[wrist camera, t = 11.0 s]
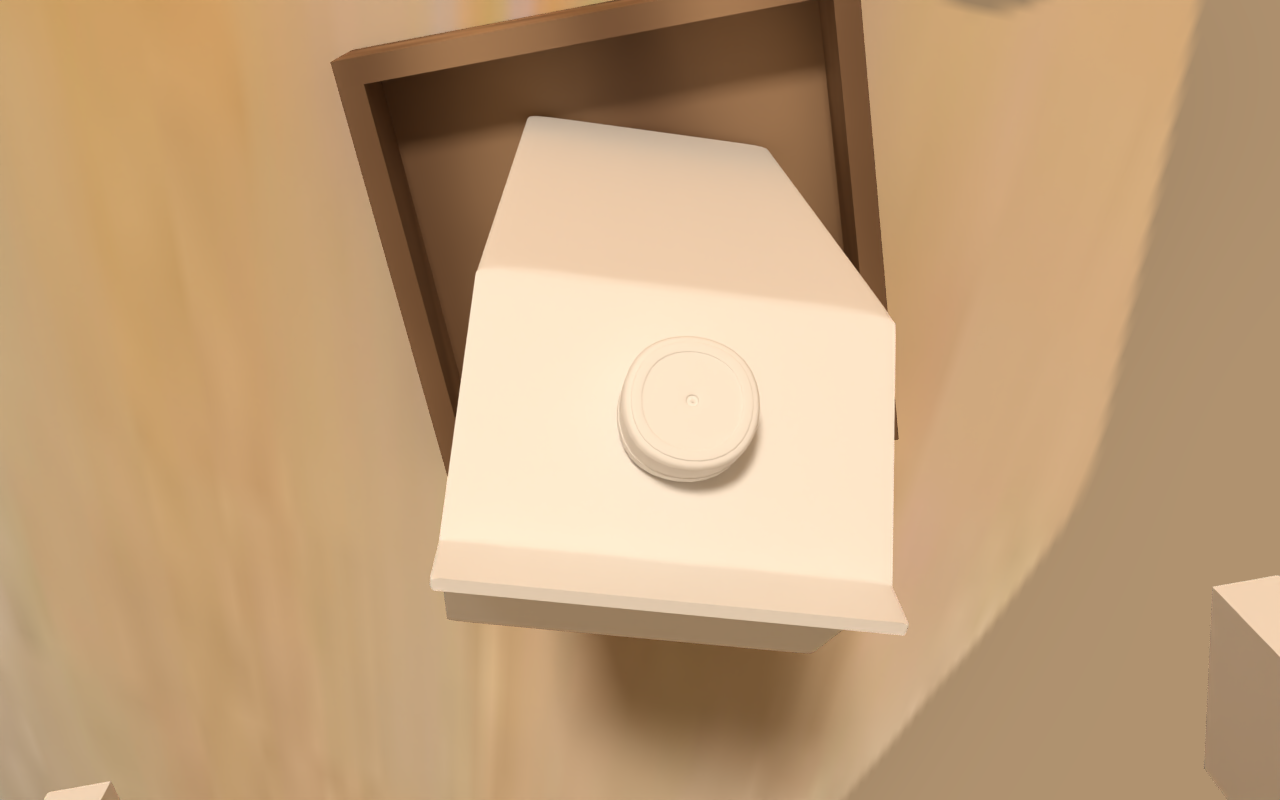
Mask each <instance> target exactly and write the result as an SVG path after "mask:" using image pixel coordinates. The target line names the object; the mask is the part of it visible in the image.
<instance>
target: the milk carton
mask: <svg viewBox="0 0 1280 800" xmlns="http://www.w3.org/2000/svg"><path fill="white" fill-rule="evenodd" d="M894 419H895V323H894V322H893V320H892V319H891V317H890V315H889V314H888V312H887V311H886V309H885V308H884V306H883V305H882V304H881V302H880V301H879V299H878V298H877V297H876V295H875V294H874V293H873V291H872V290H871V289H870V287H869V286H868V285H867V283H866V282H865V280H864V279H863V278H862V276H861V275H860V274H859V272H858V271H857V270H856V268H855V267H854V266H853V264H852V263H851V262H850V260H849V259H848V257H847V256H846V255H845V253H844V252H843V251H842V249H841V248H840V247H839V245H838V244H837V243H836V241H835V240H834V239H833V237H832V236H831V234H830V233H829V232H828V230H827V229H826V228H825V226H824V225H823V224H822V222H821V221H820V220H819V218H818V217H817V216H816V214H815V213H814V211H813V210H812V209H811V207H810V206H809V205H808V203H807V202H806V201H805V199H804V198H803V197H802V195H801V194H800V193H799V191H798V190H797V188H796V187H795V186H794V184H793V183H792V182H791V180H790V179H789V178H788V176H787V175H786V174H785V172H784V171H783V170H782V168H781V167H780V165H779V164H778V163H777V161H776V160H775V159H774V157H773V156H772V155H771V153H770V152H769V151H768V150H767V149H766V148H764V147H760V146H756V145H750V144H743V143H736V142H729V141H721V140H714V139H707V138H699V137H692V136H685V135H677V134H670V133H663V132H655V131H648V130H641V129H634V128H626V127H619V126H612V125H604V124H597V123H590V122H582V121H575V120H568V119H560V118H553V117H544V116H530V117H529V118H528V119H527V121H526V124H525V127H524V130H523V133H522V136H521V140H520V143H519V146H518V149H517V152H516V155H515V158H514V161H513V164H512V167H511V170H510V173H509V176H508V179H507V182H506V185H505V188H504V191H503V194H502V197H501V200H500V203H499V206H498V209H497V212H496V215H495V218H494V221H493V224H492V227H491V230H490V233H489V236H488V239H487V242H486V245H485V248H484V251H483V254H482V257H481V260H480V263H479V266H478V269H477V271H476V275H475V282H474V289H473V296H472V304H471V311H470V318H469V326H468V333H467V340H466V348H465V355H464V362H463V370H462V377H461V384H460V392H459V399H458V406H457V414H456V421H455V428H454V435H453V443H452V450H451V457H450V465H449V472H448V479H447V487H446V494H445V501H444V509H443V516H442V523H441V531H440V538H439V544H438V548H437V552H436V556H435V560H434V564H433V568H432V572H431V576H430V587H431V589H432V590H434V591H444V598H445V606H446V615H447V619H449V620H455V621H464V622H473V623H483V624H494V625H505V626H515V627H526V628H537V629H547V630H558V631H569V632H580V633H590V634H601V635H612V636H622V637H633V638H644V639H655V640H665V641H676V642H687V643H697V644H708V645H719V646H729V647H740V648H751V649H762V650H773V651H784V652H795V653H813V652H815V651H816V650H817V649H819V648H820V647H821V646H823V645H824V644H825V643H827V642H828V641H829V640H830V639H832V638H833V637H834V636H836V635H837V634H838V633H839V632H841V631H842V630H852V631H862V632H873V633H883V634H893V635H905V634H906V632H907V629H908V626H909V623H908V621H907V619H906V616H905V614H904V612H903V610H902V607H901V605H900V603H899V601H898V598H897V596H896V594H895V592H894V589H893V587H892V574H893V497H894Z"/></svg>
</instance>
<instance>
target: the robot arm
mask: <svg viewBox="0 0 1280 800" xmlns="http://www.w3.org/2000/svg"><path fill="white" fill-rule="evenodd" d="M1206 718H1207V719H1206V739H1205V740H1206V741H1205V762H1204V769H1205V770H1206V772H1207V773H1208V774H1209V776H1210V777H1211V778H1212V780H1213V781H1214V782H1215V783H1216V785H1217V786H1218V788H1219V789H1220V790H1221V792H1222V793H1223V794H1224V796H1225V797H1226V799H1227V800H1280V576H1279V575H1277V576H1271V577H1266V578H1261V579H1254V580H1249V581H1243V582H1237V583H1232V584H1226V585H1220V586H1215V587H1213V588H1212V609H1211V632H1210V654H1209V674H1208V696H1207V717H1206ZM44 800H120V799H119V797H118V795H117V793H116V791H115V788H114V786H113V784H112V782H111V781H109V782H104V783H98V784H92V785H87V786H81V787H75V788H70V789H64V790H58V791H53V792H48V793H47V795H46V797H45V798H44Z"/></svg>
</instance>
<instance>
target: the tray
mask: <svg viewBox="0 0 1280 800" xmlns="http://www.w3.org/2000/svg"><path fill="white" fill-rule="evenodd" d="M331 66H332V69H333V73H334V76H335V80H336V83H337V87H338V91H339V94H340V98H341V101H342V105H343V108H344V112H345V115H346V119H347V122H348V126H349V129H350V133H351V137H352V140H353V144H354V147H355V151H356V154H357V158H358V161H359V165H360V168H361V172H362V175H363V179H364V183H365V186H366V190H367V193H368V197H369V200H370V204H371V207H372V211H373V214H374V218H375V221H376V225H377V229H378V232H379V236H380V239H381V243H382V246H383V250H384V253H385V257H386V260H387V264H388V267H389V271H390V275H391V278H392V282H393V285H394V289H395V292H396V296H397V299H398V303H399V306H400V310H401V313H402V317H403V321H404V324H405V328H406V331H407V335H408V338H409V342H410V345H411V349H412V352H413V356H414V359H415V363H416V367H417V370H418V374H419V377H420V381H421V384H422V388H423V391H424V395H425V398H426V402H427V405H428V409H429V413H430V416H431V420H432V423H433V427H434V430H435V434H436V437H437V441H438V444H439V448H440V451H441V455H442V459H443V462H444V466H445V469H446V473H447V476H448V472H449V465H450V457H451V450H452V443H453V435H454V428H455V421H456V414H457V406H458V399H459V392H460V384H461V377H462V370H463V362H464V355H465V348H466V340H467V333H468V326H469V318H470V311H471V304H472V296H473V289H474V282H475V275H476V271H477V269H478V266H479V263H480V260H481V257H482V254H483V251H484V248H485V245H486V242H487V239H488V236H489V233H490V230H491V227H492V224H493V221H494V218H495V215H496V212H497V209H498V206H499V203H500V200H501V197H502V194H503V191H504V188H505V185H506V182H507V179H508V176H509V173H510V170H511V167H512V164H513V161H514V158H515V155H516V152H517V149H518V146H519V143H520V140H521V136H522V133H523V130H524V127H525V124H526V121H527V119H528V118H529V117H530V116H544V117H553V118H560V119H568V120H575V121H582V122H590V123H597V124H604V125H612V126H619V127H626V128H634V129H641V130H648V131H655V132H663V133H670V134H677V135H685V136H692V137H699V138H707V139H714V140H721V141H729V142H736V143H743V144H750V145H756V146H760V147H764V148H766V149H767V150H768V151H769V152H770V153H771V155H772V156H773V157H774V159H775V160H776V161H777V163H778V164H779V165H780V167H781V168H782V170H783V171H784V172H785V174H786V175H787V176H788V178H789V179H790V180H791V182H792V183H793V184H794V186H795V187H796V188H797V190H798V191H799V193H800V194H801V195H802V197H803V198H804V199H805V201H806V202H807V203H808V205H809V206H810V207H811V209H812V210H813V211H814V213H815V214H816V216H817V217H818V218H819V220H820V221H821V222H822V224H823V225H824V226H825V228H826V229H827V230H828V232H829V233H830V234H831V236H832V237H833V239H834V240H835V241H836V243H837V244H838V245H839V247H840V248H841V249H842V251H843V252H844V253H845V255H846V256H847V257H848V259H849V260H850V262H851V263H852V264H853V266H854V267H855V268H856V270H857V271H858V272H859V274H860V275H861V276H862V278H863V279H864V280H865V282H866V283H867V285H868V286H869V287H870V289H871V290H872V291H873V293H874V294H875V295H876V297H877V298H878V299H879V301H880V302H881V304H882V305H883V306H884V308H885V309H886V311H887V300H886V288H885V276H884V265H883V253H882V242H881V230H880V218H879V207H878V195H877V184H876V172H875V161H874V149H873V137H872V126H871V114H870V103H869V91H868V80H867V68H866V56H865V45H864V33H863V22H862V10H861V0H614V1H608V2H603V3H598V4H593V5H587V6H582V7H577V8H571V9H566V10H561V11H556V12H550V13H545V14H540V15H535V16H529V17H524V18H519V19H514V20H508V21H503V22H498V23H493V24H487V25H482V26H477V27H472V28H466V29H461V30H456V31H450V32H445V33H440V34H435V35H429V36H424V37H419V38H414V39H408V40H403V41H398V42H393V43H387V44H382V45H377V46H372V47H366V48H361V49H356V50H352V51H350V52H348V53H346V54H344V55H343V56H341V57H339V58H337V59H335V60H334V61H332V62H331ZM887 312H888V311H887ZM898 439H899V438H898V427H897V415H896V404H895V419H894V440H898Z"/></svg>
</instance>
